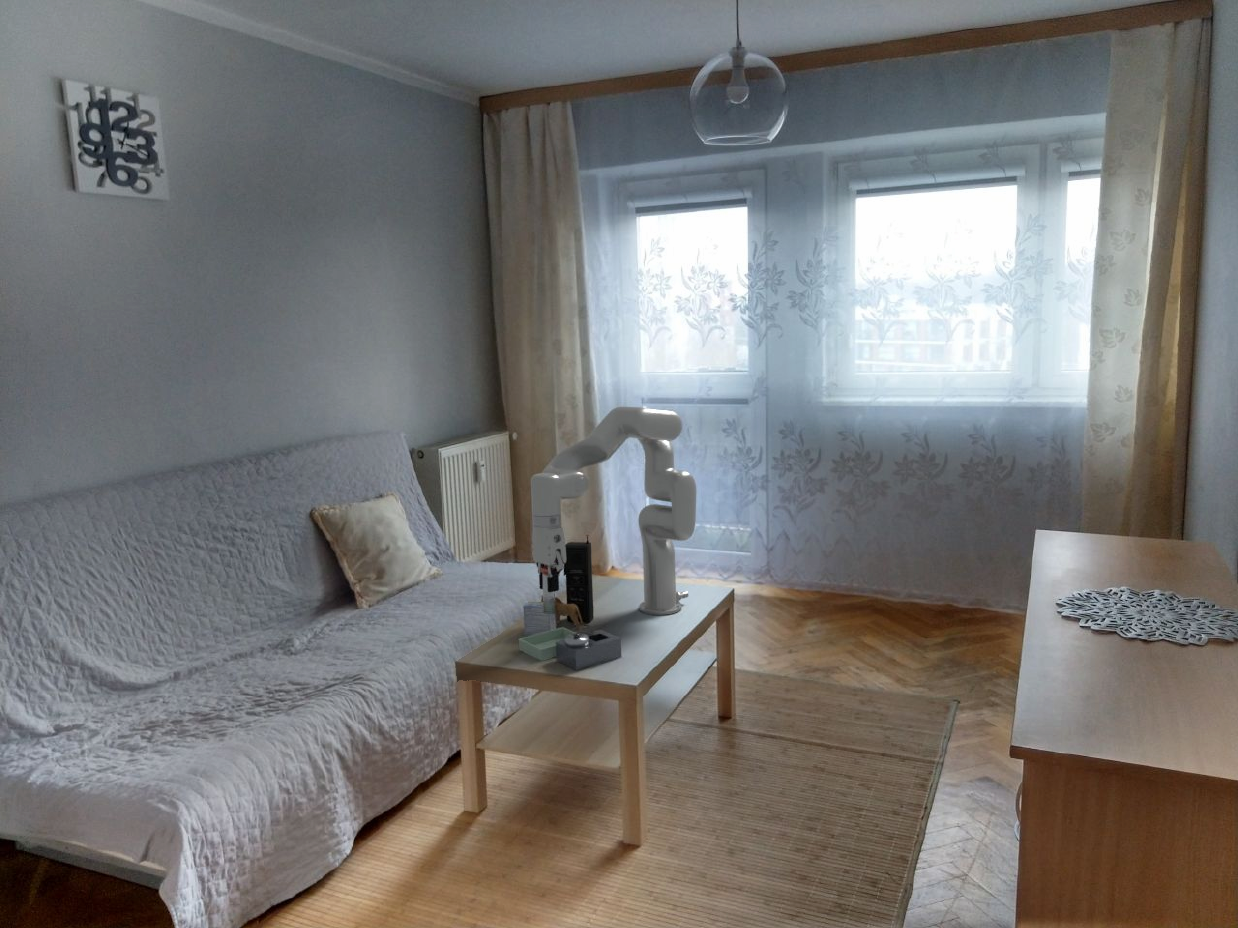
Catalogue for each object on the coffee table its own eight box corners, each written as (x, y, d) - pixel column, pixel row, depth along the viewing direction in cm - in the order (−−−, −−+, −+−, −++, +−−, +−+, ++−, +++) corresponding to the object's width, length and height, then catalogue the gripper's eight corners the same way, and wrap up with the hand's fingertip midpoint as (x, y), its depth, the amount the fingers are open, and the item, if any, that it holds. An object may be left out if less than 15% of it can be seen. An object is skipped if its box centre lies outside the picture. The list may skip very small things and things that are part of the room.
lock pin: (551, 609, 242) (550, 565, 241) (559, 612, 239) (559, 567, 237) (538, 611, 240) (537, 567, 238) (546, 615, 236) (546, 570, 235)
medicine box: (556, 632, 255) (555, 602, 253) (551, 637, 250) (549, 607, 249) (530, 630, 257) (528, 600, 255) (524, 635, 252) (522, 605, 251)
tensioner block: (601, 647, 241) (600, 621, 240) (621, 656, 234) (620, 629, 232) (556, 660, 232) (555, 633, 231) (576, 670, 225) (575, 642, 224)
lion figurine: (537, 626, 261) (536, 595, 259) (546, 620, 265) (544, 590, 264) (584, 630, 255) (583, 599, 254) (592, 625, 260) (591, 594, 258)
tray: (563, 637, 250) (563, 627, 249) (586, 648, 241) (585, 637, 240) (519, 649, 241) (518, 638, 241) (541, 660, 233) (540, 649, 232)
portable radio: (563, 622, 263) (559, 537, 259) (569, 616, 268) (565, 533, 265) (589, 623, 261) (585, 538, 257) (594, 617, 267) (591, 533, 263)
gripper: (576, 523, 232) (578, 593, 234) (542, 514, 245) (544, 580, 247) (551, 527, 227) (554, 599, 230) (518, 518, 240) (520, 586, 243)
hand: (549, 589), depth 239 cm, fingers closed on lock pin, 3 cm apart
